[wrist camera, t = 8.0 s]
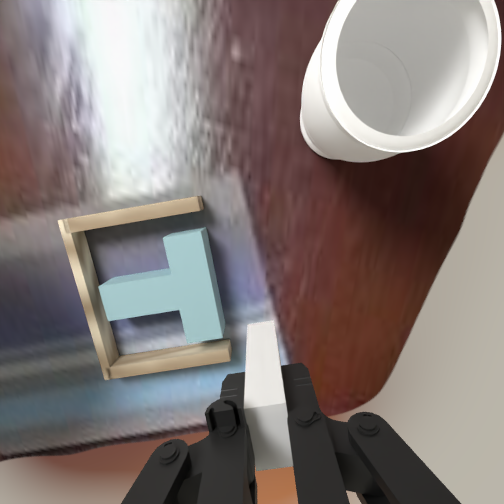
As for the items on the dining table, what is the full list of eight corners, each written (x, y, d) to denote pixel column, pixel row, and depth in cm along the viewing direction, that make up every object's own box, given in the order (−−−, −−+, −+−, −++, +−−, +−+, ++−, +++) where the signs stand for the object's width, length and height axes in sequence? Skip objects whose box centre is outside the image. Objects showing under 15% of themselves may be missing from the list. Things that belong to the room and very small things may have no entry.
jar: (360, 184, 33) (444, 179, 18) (274, 147, 32) (290, 110, 18) (406, 87, 31) (541, -5, 16) (315, 45, 30) (373, -91, 16)
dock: (71, 218, 34) (57, 220, 32) (201, 195, 33) (197, 196, 31) (114, 367, 38) (104, 380, 35) (231, 350, 37) (230, 361, 35)
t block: (104, 244, 35) (88, 250, 31) (206, 227, 34) (200, 231, 31) (130, 339, 37) (117, 354, 34) (225, 324, 37) (222, 337, 33)
